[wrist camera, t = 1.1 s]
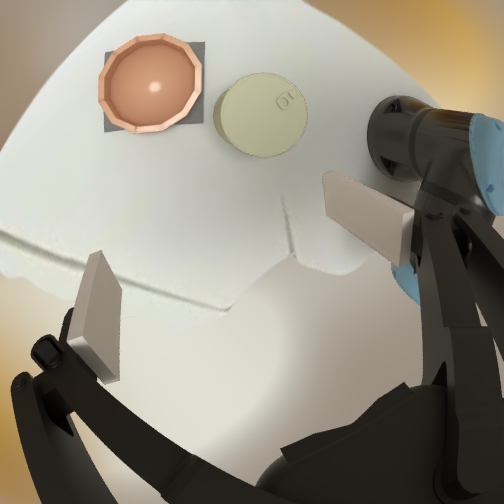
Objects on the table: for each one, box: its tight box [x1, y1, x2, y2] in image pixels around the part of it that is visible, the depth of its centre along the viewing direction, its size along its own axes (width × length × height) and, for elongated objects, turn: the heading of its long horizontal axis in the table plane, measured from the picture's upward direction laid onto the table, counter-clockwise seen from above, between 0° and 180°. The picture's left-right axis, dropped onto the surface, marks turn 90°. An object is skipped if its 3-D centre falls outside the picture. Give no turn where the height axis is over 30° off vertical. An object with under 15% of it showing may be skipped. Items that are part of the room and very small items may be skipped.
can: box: [213, 73, 307, 157], centre depth 32 cm, size 9×9×12 cm
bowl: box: [98, 33, 202, 133], centre depth 31 cm, size 13×13×3 cm
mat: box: [104, 42, 205, 132], centre depth 32 cm, size 14×12×1 cm
